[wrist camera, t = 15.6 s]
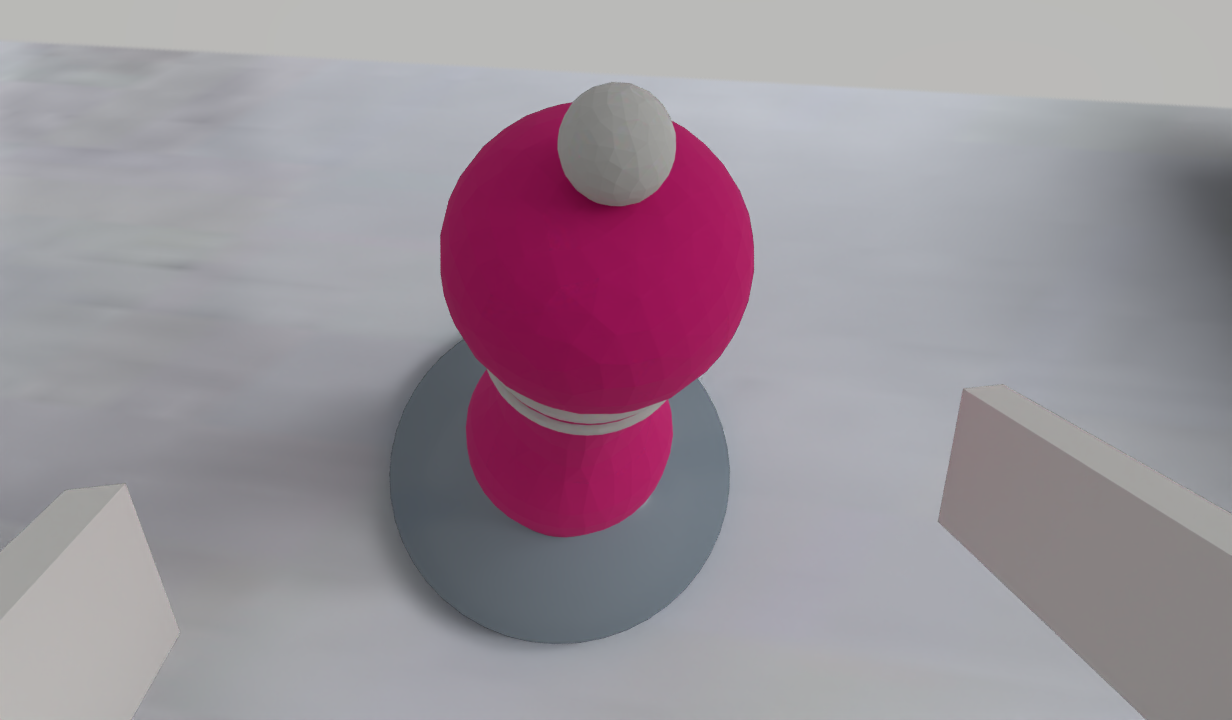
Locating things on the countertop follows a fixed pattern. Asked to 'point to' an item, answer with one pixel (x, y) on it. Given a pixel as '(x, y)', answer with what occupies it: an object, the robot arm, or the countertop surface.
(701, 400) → the saucer
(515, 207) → the pepper mill
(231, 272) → the countertop surface
